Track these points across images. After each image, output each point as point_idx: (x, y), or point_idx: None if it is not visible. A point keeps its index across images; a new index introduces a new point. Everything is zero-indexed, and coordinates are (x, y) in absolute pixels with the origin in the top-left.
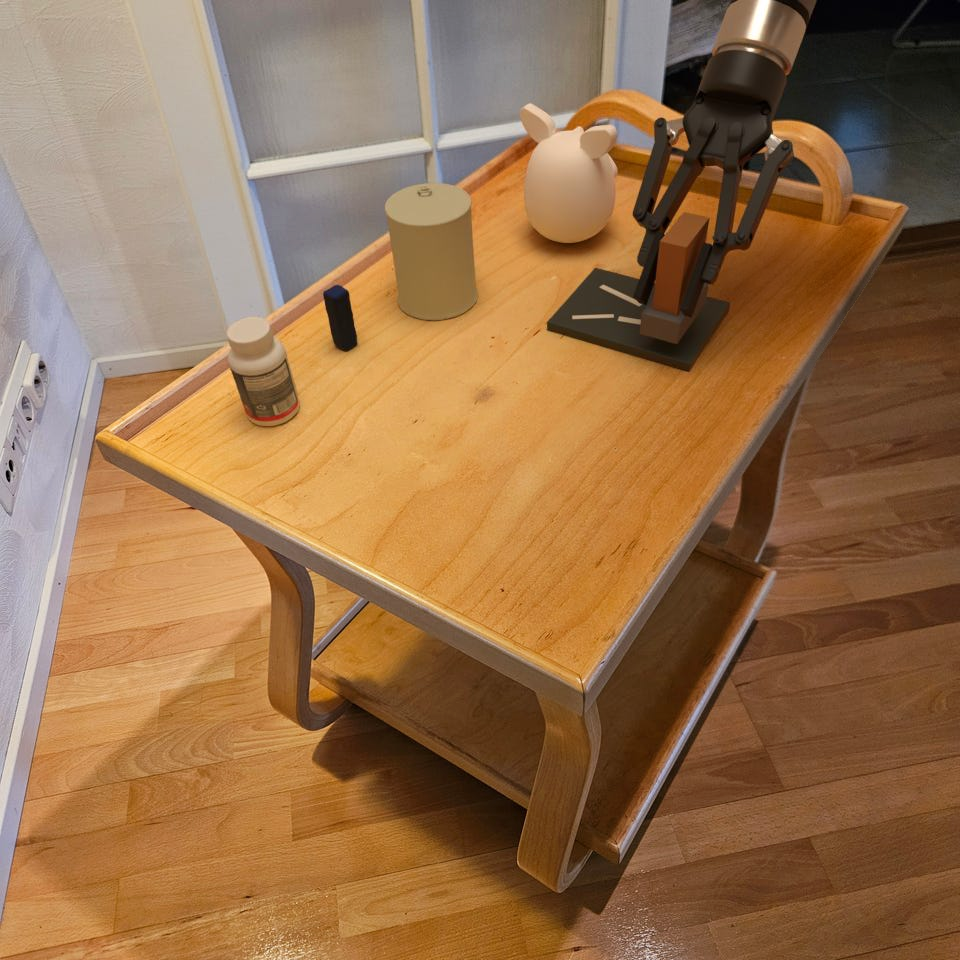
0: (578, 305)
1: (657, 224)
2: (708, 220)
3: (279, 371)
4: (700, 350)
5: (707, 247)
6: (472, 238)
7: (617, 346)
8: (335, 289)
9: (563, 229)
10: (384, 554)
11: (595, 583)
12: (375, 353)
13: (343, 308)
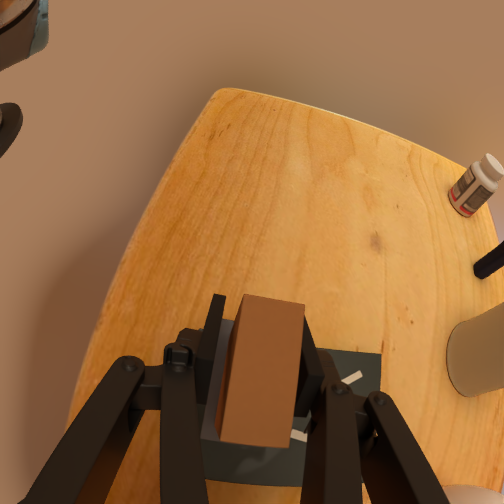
0: None
1: (331, 388)
2: (220, 433)
3: (469, 173)
4: None
5: (202, 353)
6: (500, 360)
7: None
8: None
9: None
10: (341, 122)
11: (227, 116)
12: (461, 269)
13: (498, 250)
